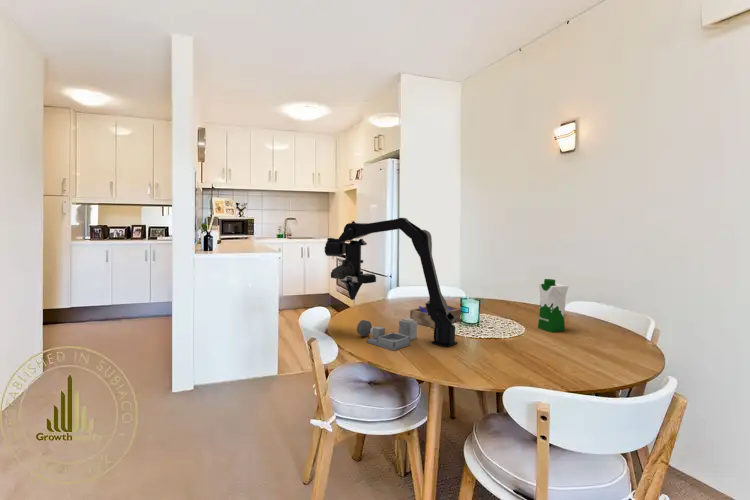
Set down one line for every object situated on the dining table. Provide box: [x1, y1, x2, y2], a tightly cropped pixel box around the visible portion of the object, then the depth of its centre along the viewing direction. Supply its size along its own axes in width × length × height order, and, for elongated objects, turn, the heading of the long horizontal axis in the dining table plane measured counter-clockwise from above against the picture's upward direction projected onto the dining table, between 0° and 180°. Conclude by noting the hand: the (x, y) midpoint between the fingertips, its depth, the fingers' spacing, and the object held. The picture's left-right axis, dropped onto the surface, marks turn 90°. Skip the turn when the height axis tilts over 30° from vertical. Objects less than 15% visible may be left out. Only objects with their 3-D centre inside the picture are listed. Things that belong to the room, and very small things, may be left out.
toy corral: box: [409, 305, 462, 329], centre depth 169 cm, size 13×20×5 cm, turn 137°
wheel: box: [356, 319, 373, 337], centre depth 145 cm, size 2×6×6 cm, turn 137°
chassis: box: [366, 325, 411, 351], centre depth 137 cm, size 14×8×5 cm, turn 47°
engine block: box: [398, 317, 418, 341], centre depth 144 cm, size 5×4×7 cm
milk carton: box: [537, 278, 569, 333], centre depth 159 cm, size 9×9×20 cm
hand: (352, 299), depth 148 cm, fingers closed
